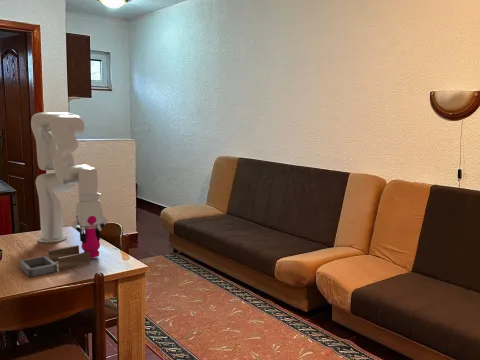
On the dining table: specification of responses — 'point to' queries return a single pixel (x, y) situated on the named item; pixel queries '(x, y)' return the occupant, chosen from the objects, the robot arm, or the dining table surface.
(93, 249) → the pepper mill
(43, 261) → the tray
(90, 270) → the dining table surface
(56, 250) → the walled lane
